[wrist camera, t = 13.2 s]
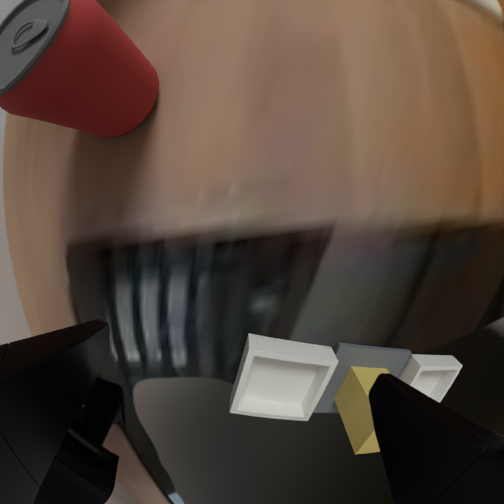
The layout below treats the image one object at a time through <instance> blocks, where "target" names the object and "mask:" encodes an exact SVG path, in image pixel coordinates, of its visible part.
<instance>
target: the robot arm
mask: <svg viewBox="0 0 504 504" xmlns="http://www.w3.org/2000/svg"><path fill="white" fill-rule="evenodd" d="M109 346H110V341H109V324H108V323H107V322H104V321H101V320H98V319H96V320H92V321H88V322H85V323H81V324H78V325H74V326H71V327H67V328H63V329H60V330H56V331H52V332H49V333H45V334H41V335H37V336H34V337H30V338H26V339H23V340H18V341H15V342H11V343H9V344H8V343H7V344H3V345H0V504H104V503H105V502H106V501H107V500H108V499H109V497H110V496H111V494H112V492H113V489H114V485H115V479H116V472H117V465H118V459H119V456H117V455H116V454H114V453H111V452H110V451H108V450H107V449H106V448H104V447H103V446H102V445H103V443H104V441H105V438H106V436H107V434H108V432H109V430H110V428H111V426H112V423H114V424H116V425H119V426H123V425H124V413H123V401H122V389H121V387H120V386H119V385H117V384H114V383H112V382H109V381H106V380H103V379H101V378H98V377H97V375H98V373H99V371H100V368H101V366H102V364H103V362H104V359H105V357H106V355H107V353H108V350H109ZM368 397H369V403H370V408H371V413H372V419H373V425H374V430H375V434H376V438H377V442H378V445H379V449H380V453H381V456H382V460H383V464H384V468H385V472H386V476H387V480H388V484H389V489H390V493H391V498H392V502H393V504H504V436H502V435H500V434H497V433H495V432H493V431H491V430H489V429H486V428H484V427H482V426H480V425H478V424H476V423H475V422H473V421H471V420H469V419H467V418H465V417H464V416H461V415H460V414H458V413H456V412H455V411H453V410H451V409H449V408H448V407H446V406H444V405H443V404H441V403H439V402H437V401H436V400H434V399H432V398H430V397H429V396H427V395H425V394H424V393H422V392H420V391H419V390H417V389H415V388H414V387H412V386H410V385H409V384H407V383H405V382H404V381H402V380H400V379H399V378H397V377H395V376H394V375H392V374H389V373H381V374H379V375H378V377H377V378H376V380H375V382H374V384H373V385H372V387H371V389H370V391H369V395H368Z"/></svg>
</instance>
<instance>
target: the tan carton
mask: <svg viewBox="0 0 504 504" xmlns="http://www.w3.org/2000/svg"><path fill="white" fill-rule="evenodd" d="M381 373H389V371H388V370H387V369H385V368H367V367H353V366H351V368H350V370H349V372H348V374H347V376H346V378H345V380H344V381H343V383H342V385H341V387H340V389H339V391H338V393H337V394H336V396H335V398H334V400H335V403H336V405H337V408H338V410H339V413H340V416H341V418H342V421H343V423H344V426H345V429H346V431H347V434H348V437H349V439H350V442H351V444H352V447H353V450H354V453H355V454H363V453H372V452H379V451H380V449H379V445H378V442H377V438H376V434H375V430H374V425H373V419H372V413H371V408H370V403H369V397H368V395H369V391H370V389H371V387H372V385H373V384H374V382H375V380H376V378H377V377H378V375H379V374H381ZM389 374H390V373H389Z"/></svg>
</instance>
